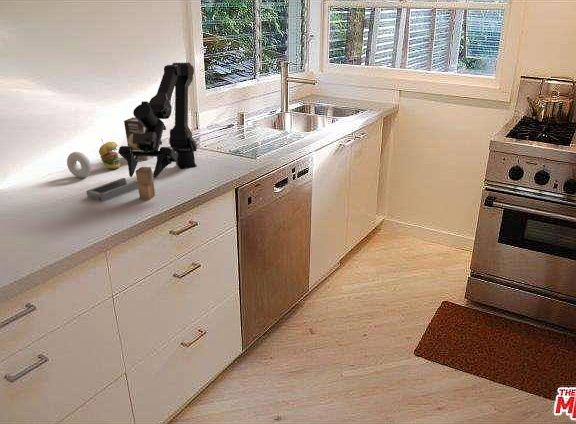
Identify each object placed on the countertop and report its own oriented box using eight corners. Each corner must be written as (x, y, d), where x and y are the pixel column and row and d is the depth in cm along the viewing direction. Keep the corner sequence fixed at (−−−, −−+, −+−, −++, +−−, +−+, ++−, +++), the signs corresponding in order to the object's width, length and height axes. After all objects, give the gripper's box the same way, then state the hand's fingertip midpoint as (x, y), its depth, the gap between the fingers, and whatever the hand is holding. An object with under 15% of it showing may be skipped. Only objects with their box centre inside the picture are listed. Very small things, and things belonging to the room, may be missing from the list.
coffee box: (128, 158, 208) (122, 120, 202) (137, 154, 214) (132, 117, 207) (147, 160, 205) (141, 121, 199) (156, 155, 211) (151, 118, 204)
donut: (95, 177, 188) (90, 151, 184) (88, 180, 185) (83, 154, 181) (74, 174, 191) (69, 149, 187) (67, 177, 188) (62, 152, 184)
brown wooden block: (145, 195, 169) (141, 166, 165) (155, 195, 168) (151, 167, 164) (140, 199, 165) (135, 170, 161) (149, 199, 164) (145, 171, 160)
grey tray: (124, 184, 179) (123, 177, 178) (138, 188, 175) (137, 181, 174) (87, 197, 168) (86, 190, 167) (102, 202, 164) (100, 195, 163)
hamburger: (118, 170, 194) (113, 140, 189) (99, 171, 193) (94, 141, 188) (123, 164, 201) (118, 135, 196) (105, 165, 200) (99, 136, 195)
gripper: (116, 121, 162) (104, 164, 157) (169, 122, 158) (159, 166, 153) (131, 139, 172) (120, 180, 167) (182, 140, 169) (172, 182, 163)
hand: (142, 177), depth 162 cm, fingers open, 8 cm apart
